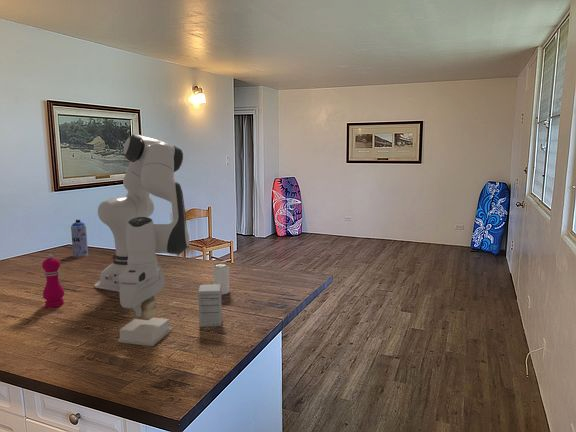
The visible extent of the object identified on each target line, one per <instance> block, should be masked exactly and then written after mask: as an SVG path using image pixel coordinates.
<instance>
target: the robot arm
mask: <svg viewBox="0 0 576 432" xmlns="http://www.w3.org/2000/svg"><path fill="white" fill-rule="evenodd" d="M123 155H124V158H125V159H126V160H127V161H129V163H128V165H127V166H128V167H127V169H126V172H125V175H124V177H123V180H122V182H123V183H122V184H123V186H124V188H125V190H126V191H127V194H126V195H125V196H120V197H118V196H117V197H112V198H108V199H106V200H104V201H102V202H100V203H99V205H98V207H97V216H98V219H99V220H100V221H101V222H102V223H103V224H104V225H106V226H107V227H109V229H110V231H111V233H112V235H113V238H114V246H115V254H114V255H112V256H111V257H110V260H112V263H111V264H110V265H108V266H106V268H105V269H103V270H102V271H101V272H100V276H99V281H97V282H95V284H94V288H96V289H102V290H107V291H112V292H118V293H119V304H120V305H121V307H122V308H123V309H133V310H134V309H135V311H136V316H139V317H140V316H142V315H143V310H142V309H141V307H140V306H141V303H142V302H143V301H145V300H147V299H156V297H157V294H158V293H159V292H160V291H163V289H164V288H165V284H166V283H165V275H164V271H163V269H162V266H161V264H159V262H158V257H157V254H171V255H181V254H182V253H183V252H184V251H186V250H187V249H188V248H189V245H190V244H189V243H190V235H189V231H188V230H189V229H188V227H187V226H188V225H187V219H186V210H185V207H186V206H185V201H184V194H183V190H182V186H181V184H180V182H177V181H176V180H175V178H174V176H175V175H174V174H175V172H177V171H179V169H181V168H180V167H181V166H182V164H183V162H184V153H183V150H182V149H181V148H180V147H178V146H175V145H171V144H170V143H167V142H165V141H163V140H160V139H155V138H152V137H148V136H143V135H141V134H131V135H129V136H128V138H127V139H126V140H125V142H124V144H123ZM150 195H152V196H154V197H156V198H159V199H163V200H165V201H167V202H169V203H171V211H172V212H171V213H172V222H171V223H166V224H165V223H156V224H154V221H153V218H150V217H151V216H152V215H153V212H154V210H155V205H154V201H153V200H152V197H150Z"/></svg>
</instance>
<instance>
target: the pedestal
mask: <svg viewBox="0 0 576 432" xmlns="http://www.w3.org/2000/svg"><path fill="white" fill-rule="evenodd" d="M172 331H173V329H172V327H171V326H170V319H169V318H161V317H160V318H159V317H153V318H151V319H150V320H140V319H134V318H133V320H131V321H130V322H128V323H127V324H125V325H124V326H122V327H121V328H120V329H119V338H118V339H117V343H123V344H130V345H131V344H132V345H138V346H139V345H140V346H147V347H153V346H155V345H156V344H157V343H158V342H161V340H162V339H164V337H166V336H167V335H168V334H170V332H172Z"/></svg>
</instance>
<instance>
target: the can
mask: <svg viewBox="0 0 576 432" xmlns="http://www.w3.org/2000/svg"><path fill="white" fill-rule="evenodd" d="M212 272H213V273H212V275H213V276H212V277H213V278H212V279H213V284H221V296H224V295H228V294H229V293H230V267H229V266H228V263H226V262H219V263H218V262H217V263H214V265H213V269H212Z"/></svg>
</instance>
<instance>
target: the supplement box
mask: <svg viewBox="0 0 576 432" xmlns="http://www.w3.org/2000/svg"><path fill="white" fill-rule="evenodd" d="M197 294H198V298H197V299H198V316H199V317H198V320H199V327H201V328H202V327H205V328H206V327H221V326H222V322H223V321H222V319H223V312H222V311H223V309H222V295H221V284H214V283H212V284H210V283H209V284H200V285H199V289H198V293H197Z"/></svg>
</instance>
